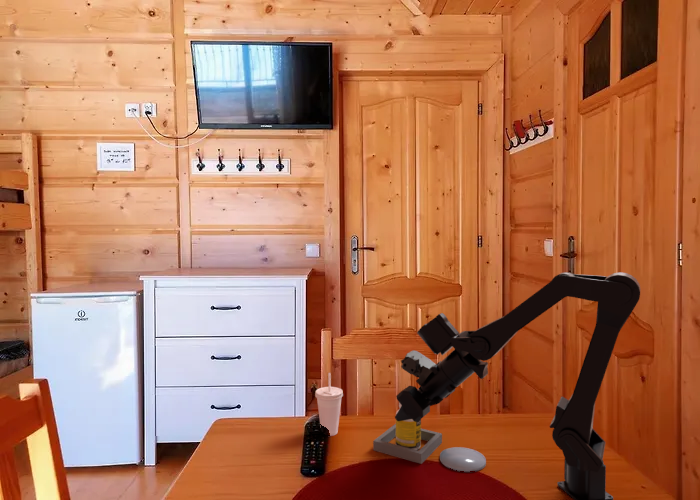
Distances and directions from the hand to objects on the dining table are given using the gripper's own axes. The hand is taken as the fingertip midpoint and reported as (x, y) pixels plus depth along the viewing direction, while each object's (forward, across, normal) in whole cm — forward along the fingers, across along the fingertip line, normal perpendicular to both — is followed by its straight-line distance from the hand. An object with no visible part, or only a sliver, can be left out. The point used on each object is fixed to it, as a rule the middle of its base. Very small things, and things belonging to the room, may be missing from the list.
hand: (402, 414), depth 100 cm
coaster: (-5, 0, +14) cm, 15 cm away
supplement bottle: (+4, 0, +6) cm, 7 cm away
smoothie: (+17, +3, -7) cm, 19 cm away
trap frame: (+4, 0, +6) cm, 7 cm away
